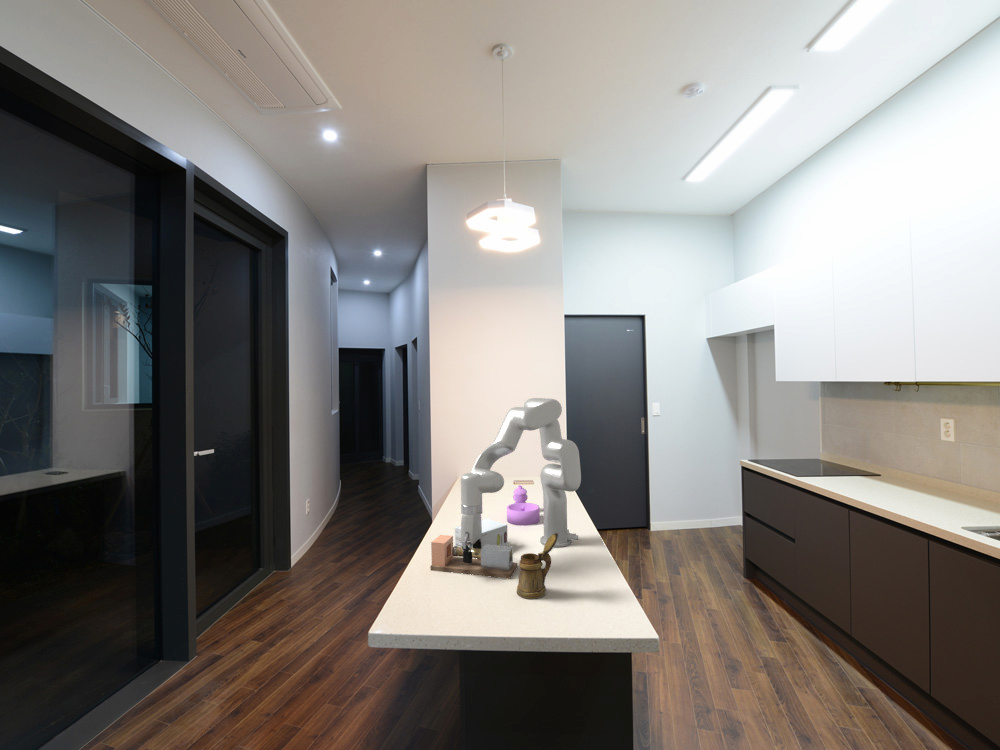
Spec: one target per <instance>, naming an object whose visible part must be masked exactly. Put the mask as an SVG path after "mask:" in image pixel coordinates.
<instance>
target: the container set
mask: <svg viewBox="0 0 1000 750" xmlns="http://www.w3.org/2000/svg"><path fill="white" fill-rule="evenodd" d="M527 493H528V491H527V489H526V488H524V487H523V485H521V484H519V485H518V486H517V488H515V489H513V496H512V498H513V501H514V503H511V504H508V505H507V506H506V520H507V522H508V523H509V524H510V525H514V526H519V527H521V526H525V527H526V526H533V525H536V524H539V523H540V520H541V519H540V518H541V517H540V506H539V504H536V503H531V502H527V500H528V498H529V497H528V495H527Z"/></svg>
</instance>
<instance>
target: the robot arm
mask: <svg viewBox="0 0 1000 750" xmlns="http://www.w3.org/2000/svg"><path fill="white" fill-rule="evenodd" d="M562 411H563V407H562V404H561V402H560V401H558V400H557V399H554V398H542V397H533V398H528V399H526V401H524V404H523V406H514V407H511V408H510V409H509V410H508V411H507V412H506V414H505V417H504V419H503V421H502V423H501V425H500V428H499V430H498V432H497V434H496V436H495V438H494V440H493V442H492V443H490V444H489V445H488V446H487V447H486V448H485V449H484V450H482V452H481V453H480V454H479V456H478V457H477V459H476V461H474V462H475V463H474V464H473V467H472V470H471V472H467V473H464V474H462V475H461V477H460V512H461V513H460V514H461V522H460V523H461V524H460V526H461V539H460V541H461V543H462V548H463V562H464V563H472V551H471V549H472V544H473V548H477V549H481V535H482V522H481V520H482V514H483V494H494V493H497V492H500V491H501V490H502V489H503V487H504V485H505V479H504V476H503V475H502V474H501V473H499V472H498V471H495V470H491V469H492V467H493V465H494V464H495V463H496V462H497V461H498V460H500V459H501V458H503V457H505V456H508V455H510V454H512V453H514V452H515V451H516V449H517V446H518V444H519V441H520V439H521V437H522V435H523V433H524V431H535V430H539V437H540V438H539V440H540V449H541V454H542V458H544V459H545V460H546V461H548V462H553V463H548V464H545V465H544V466H543V467H542V469H541V470H540V475H539V476H540V484H541V488H542V496H543V497H542V499H543V504H542V505H543V536H541V537H540V540H539V542H540V543H541V544H542V545H543V546H545V543H546V542H547V540H548V538H549V537H550V536H551V535H553V534H555V533H558V539H557V542H556V544H555V546H554V547H553V548H563V547H567V546H570V545H571V544H572V540H573V541H579V535H578V534H577V533H571V532H570V530H569V529H568V498H567V494H566V492H569V493H570V492H575V491H577V490H578V489H579V487H580V485H581V483H582V482H581V481H582V472H581V471H582V470H581V462H580V461H581V459H580V451H579V448H578V446H577V444H576V443H575V442H574V441H572V440H570V439H565V438H563V437H562V432H561V430H562V429H561V425H560V422H559V418H560V417H561V415H562ZM467 541H471V542H467ZM468 545H470V546H469V547H468Z"/></svg>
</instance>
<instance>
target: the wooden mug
mask: <svg viewBox="0 0 1000 750" xmlns="http://www.w3.org/2000/svg"><path fill="white" fill-rule="evenodd" d="M557 539H558V533H555V534H553V535H551V536H550V537H549V538H548V540H547V542H546V543H545V545H543V551H542V552H539V553H538V554H536V553H523V554H522V555H521V556H520V560H519V563H518V567H519V574H518V584H517V586H516V594H517V596H519V597H520V598H523V599H526V600H535V599H536V600H537V599H540V598H542V597H543V596H545V595H546V592H547V588H546V585H545V583H546V582H545V581H546V577H547V575H548V573H549V571H550V569H551V566H552V558H551V555H550V552H551V551H552V550H553V549H554V548H555V547H554V546H555V544H556V542H557ZM543 563H545V566H544V567H543V565H544V564H543ZM542 567H543V568H542Z"/></svg>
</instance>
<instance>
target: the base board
mask: <svg viewBox="0 0 1000 750" xmlns="http://www.w3.org/2000/svg"><path fill="white" fill-rule="evenodd" d="M516 568H517V569H518V562H514V561H513V566H512V567H511V569H510V570H509V571H504V570H494V569H485V568H481V559H480V558H477V559H476V558H472V563H464V562H463V557H459V556H457V557H456V556H453V559H452V560H451V561H450V562H449V563H447V564H446V565H445V566H438V565H432V564H431V565H430V571H434V572H441V573H442V572H444V573H451V572H453V574H461V573H463V574H462V575H470V574H471V575H470V576H479V575H482V576H481V577H488V576H491V577H490V578H492V577H493V578H498V577H500V579H507V578H508V579H509V580H510V579H511V578H512V577H513V575H514V573H515V572H516V570H517V569H516ZM472 574H473V575H472ZM511 576H512V577H511Z"/></svg>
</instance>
